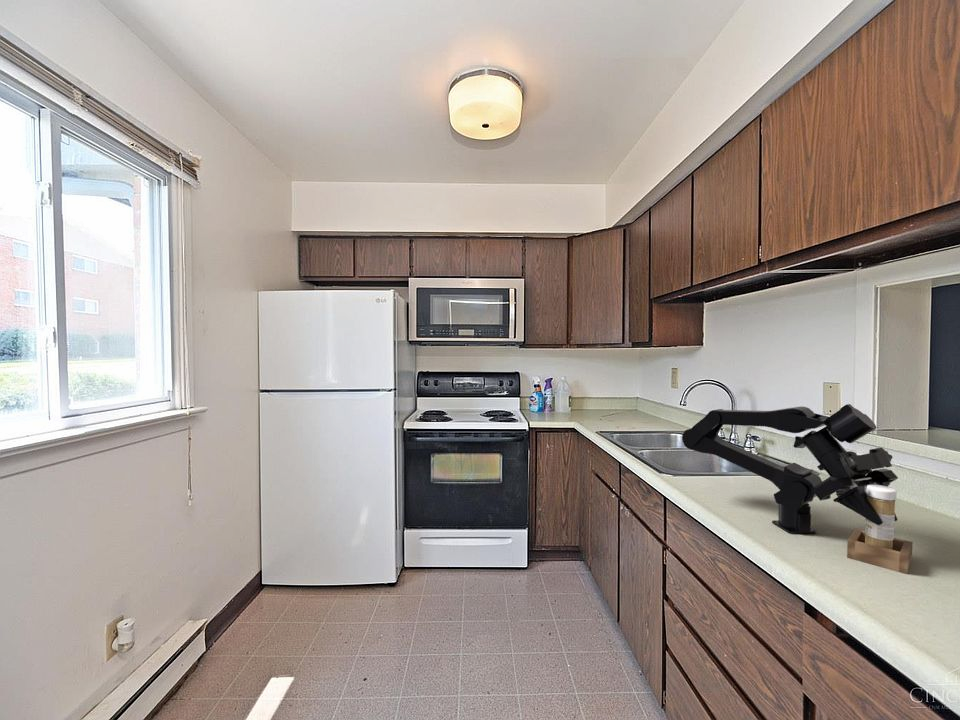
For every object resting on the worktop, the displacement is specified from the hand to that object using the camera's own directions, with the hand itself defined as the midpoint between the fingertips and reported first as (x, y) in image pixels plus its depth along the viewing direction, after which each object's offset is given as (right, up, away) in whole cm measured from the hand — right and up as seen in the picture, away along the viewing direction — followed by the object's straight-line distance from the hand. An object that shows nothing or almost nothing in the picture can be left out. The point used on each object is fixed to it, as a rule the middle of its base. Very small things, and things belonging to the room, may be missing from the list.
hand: (887, 522), depth 90 cm
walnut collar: (0, -8, +1) cm, 8 cm away
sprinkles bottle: (-1, -7, +2) cm, 7 cm away
